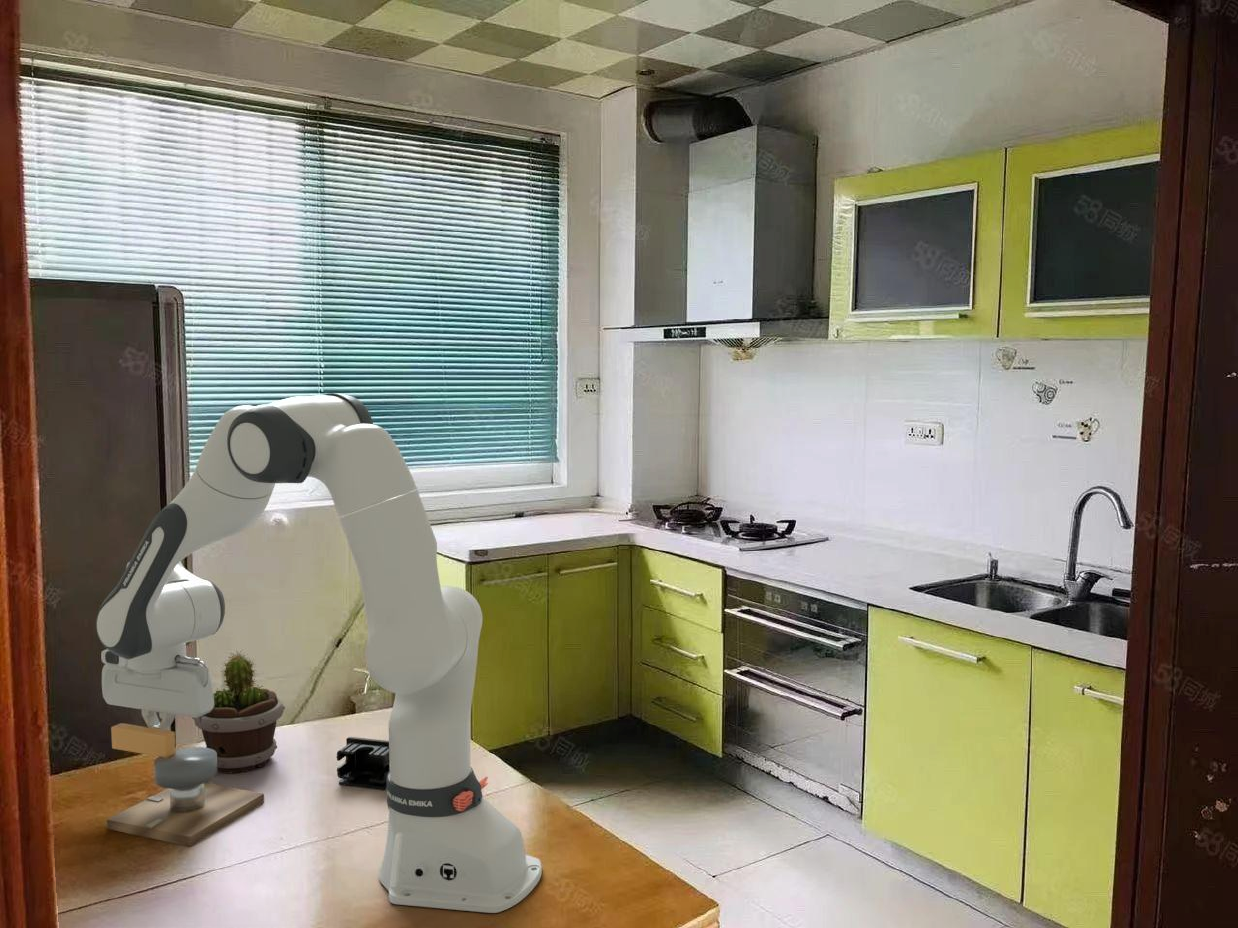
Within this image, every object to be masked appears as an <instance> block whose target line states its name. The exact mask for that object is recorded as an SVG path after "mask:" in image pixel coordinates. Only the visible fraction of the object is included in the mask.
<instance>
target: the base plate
mask: <svg viewBox="0 0 1238 928" xmlns="http://www.w3.org/2000/svg"><path fill="white" fill-rule="evenodd" d="M204 791H205V805H204V806H203V807H202V808H201V809H199V810H196V811H193V812H188V813H175V812H172V811H171V810H170V790H169V788H165V789H164V790H162V791H160V792H158V793H155V794H154V795H152V796H149V797H147V798H146V799H144V800H143V801H140V802H139V803H137V804H135V805H133V806H131V807H129V808H126V809H125V810H123V811H121V812H119V813H117V814H115V815H113V816H111V817H109V818H107V819H106V830H110V831H115V832H121V833H125V834H128V835H133V836H134V835H135V836H137V837H144V838H147V839H152V840H153V839H154V840H158V841H163V842H167V843H172V844H176V845H182V846H187V847H192V846H194V845H196V844H197V843H198V842H201V841H202V840H203V839H206V838H207V837H209V836H210V835H212V834H213V833H215V832H217V831H219V830H220V829H222V828H224V827H226V826H227V825H229V824H231V823H232V822H234V821H235V820H237V819H239V818H241V817H243V816H244V815H246V814H247V813H249V812H251V811H253V810H254V809H256V808H257V807H260V806H261V805H262V803H263V804H264V803H265V793H263V792H257V791H254V790H253V791H251V790H246V789H240V788H234V787H230V786H223V785H220V784H214V783H208V782H206V783H204Z"/></svg>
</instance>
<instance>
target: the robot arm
mask: <svg viewBox="0 0 1238 928" xmlns="http://www.w3.org/2000/svg"><path fill="white" fill-rule="evenodd" d="M307 478H315V479H317V480H319V481H320V482H321V483H323V484H324V485H325V487H326V489H327V490H328V491H329V492H328V493H329V494H330V496H331V498H332V503H333V505H334V507H335V510H336V513H337V516H338V519H339V522H340V524H341V527H342V530H343V532H344V533H343V534H344V535H345V538H346V541H347V544H348V547H349V550H350V551H351V554H352V558H353V560H354V563H355V565H356V568H357V572H358V576H359V581H360V587H361V593H362V597H363V598H362V599H363V605H364V613H365V620H366V627H367V628H366V629H367V641H366V647H365V654H364V655H365V656H364V657H365V665H366V668H367V671H368V674H369V676H370V677H371V678H372V679H373V681H374V682H375V683H376V684H377V685H378V686H379V687H380V688H382V689H383V690H385V691H387V692H390V693H393V694H395V696H394V702H393V704H392V705H393V706H392V709H391V712H390V715H389V719H388V741H389V766H390V772H389V773H388V775H387V787H386V790H385V791H386V803H387V808H388V823H387V835H386V843H385V847H384V848H385V849H384V854H383V859H382V862H381V866H380V869H379V873H378V878H379V881H380V883H381V884H382V885H383V886H384V888H385V889H386V890H387V891H388V900H389V903H391V904H394V905H398V906H399V905H402V906H403V905H404V906H411V907H412V906H413V907H422V908H433V909H434V908H435V909H446V910H456V911H468V912H477V913H488V914H489V913H491V914H497V913H501V912H502V911H505V910H508V909H510V908H512V907H513V906H515V905H517V904H518V903H520V902H521V901H523V899H525V898H526V897H527V896H528V895H529V894H530V893H531V892H532V891H533V890H534V888H535V887H536V886H537V885H538V883H539V881H540V880H541V877H542V874H543V868H542V862H541V860H540V859H539V858H538V857H534V856H531V855H529V854H527V853H526V848H525V842H524V837H523V835H522V832H521V829H520V828H519V827H518V826H517V825H516V824H515V823H514V822H513V821H511V820H510V819H509V818H508V817H507V816H506V815H504V814H503V813H502V812H500V811H499V809H497V808H496V807H495V806H494V805H492V803H490V802H489V801H488V800H487V799H486V798H485V797H484V794H483V792H482V790H483V789H484V788H485V787H486V786H487V785H488V783H489V782H487V781H488V779H489V777H488V776H485V777H484V778H482V779H481V780H480V781H479V780H478V779H477V775H476V774H475V771H474V769H473V768H472V766H471V714H472V702H473V697H474V695H473V694H474V688H475V683H476V681H475V680H476V673H477V665H478V657H479V655H478V654H479V641H480V636H481V630H482V627H483V621H484V620H483V618H484V617H483V612H482V609H481V606H480V604H479V602H478V600H477V598H476V597H475V596H473V595H472V593H470V592H469V591H467V590H466V589H463V588H462V587H458V586H450V585H449V586H448V585H447V586H441V583H440V575H439V569H438V561H437V552H438V542H437V539H436V536H435V533H434V530H433V527H432V525H431V522H430V520H429V517H428V515H427V514H428V513H427V511H426V509H425V506H424V503H423V502H422V499H421V496H420V493H419V490H417V489H418V488H417V485H416V482H415V481H414V478H413V476H412V473H411V471H410V469H409V467H408V465H407V463H406V461H405V459H404V456H403V454H402V453H401V451H400V450H399V447H398V445H397V444H396V442H395V441H394V439H393V438H392V436H391V435H390V433H389V432H388V431H387V430H386V429H385V428H383V427H382V426H380V425H376V424H374V422H373V419H372V416H371V413H370V411H369V409H368V408H367V407H366V406H365V404H364V403H363V402H362V401H360V399H357V398H356V397H354V396H352V395H348V394H345V393H344V394H343V393H335V392H334V393H332V392H330V393H325V394H321V395H310V396H293V397H288V398H284V399H280V400H277V401H274V402H270V403H268V404H266V403H265V404H258V405H255V406H253V405H238V406H235V407H232V408H230V409H228V410H227V411H226V412H225V413H223V414H222V416H221V417H220V419H219V420H218V422H217V423H216V425H215V426H214V428H213V429H212V432H211V433H210V435H209V436H208V438H207V441H206V443H205V445H204V447H203V448H202V451H201V453H200V456H199V458H198V461H197V463H196V467H195V469H194V471H193V473H192V475H191V477H190V478H189V480H188V481H187V482H186V484H185V486H184V487H182V489H181V491H180V492H179V493H178V494H177V495H176V496H175V497H174V499H172V500H171V502H170V503H169V504H167V505H165V506H164V508H162V509H161V510H160V511H159V512H157V514H156V515H155V517H154V518H153V519H152V521H151V523H150V524H149V526H148V527H147V529H146V531H145V533H144V535H143V537H142V538H141V540H140V542H139V544H138V546H137V548H136V550H135V552H134V554H133V555H132V557H131V559H130V561H128V562H127V564H126V567H125V570H124V572H123V574H122V576H121V577H120V579H119V581H118V583H117V584H116V586H115V587H114V589H113V590H111V592H110V593H109V594H108V595H107V596H106V597H105V599H104V600H103V601H102V603H101V605H100V607H99V609H98V611H97V614H96V618H95V632H96V635H97V639H98V641H99V642H100V644H101V645H102V646H103V647H104V648H105V649H104V650H102V651H101V654H100V656H101V659H100V660H101V662H102V663H103V664H104V665H103V666H102V671H101V690H102V692H101V693H102V698H103V700H104V701H105V703H106V704H108V705H111V706H118V707H124V708H131V709H137V710H141V717H142V718H143V720H144V722H145V724H146V725H147V726H146V727H149V728H155V729H161V730H167V731H172V729H171V728H172V727H171V725H172V723H173V721H174V720H175V718H176V716H180V717H181V716H182V717H188V718H192V717H194V718H198V717H201V716H203V715H205V714H207V713H209V712H211V710H212V709H213V707H214V695H213V694H214V691H213V684H212V678H211V675H210V669H209V666H208V665H206V663H205V662H204V661H203V660H202V659H201V658H199V657H189V656H187V646H186V645H187V643H190V642H195V641H197V640H203V639H205V638H208V637H210V636H212V635H214V634H216V633H217V632H218V631H219V629H220V628H221V627H222V624H223V622H224V619H225V615H226V601H225V596H224V595H223V592H222V590H220V588H219V587H218V586H217V585H216V584H215V583H214V582H212V581H211V580H209V579H207V578H202V577H199V576H197V575H195V574H194V573H192V572H190V571H189V570H187V569H186V567H185V566H184V565H183V563H182V561H183V559H185V558H187V557H189V555H191V554H192V553H195V552H196V551H198V550H200V549H203V548H204V547H206V546H209V545H211V544H213V543H216V542H219V541H221V540H223V539H227V538H230V537H233V536H235V535H237V534H240V533H242V532H244V531H246V530H248V529H249V528H251V527H252V526H253V525H254V524H255V523H256V522H257V520H259V518H260V517H261V516H262V514H263V513H264V511H265V509H266V508H267V506H268V505H269V502H270V499H271V497H272V493H273V491H274V488H275V486H276V484H302V483H304V482H305V480H306V479H307ZM400 495H401V496H400ZM339 517H340V518H339ZM157 713H158V715H159V717H158V715H157ZM159 718H160V719H161V721H160V719H159Z"/></svg>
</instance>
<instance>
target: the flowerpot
mask: <svg viewBox="0 0 1238 928" xmlns="http://www.w3.org/2000/svg"><path fill="white" fill-rule="evenodd" d="M243 650H244V649H243ZM243 650H242V651H243ZM247 655H248V654H245V653H242V654H241V652H238V651H237V653H236V654H235V653H233V652H230V654H229V656H228V661H227V662H223V667H224V669H223V668H221V669H222V671H221V670H220V672H221V673H222V674H221V676H222V680H221V683H223V685H222V684H221V685H218V687H219V688H220V690H219V689H218V688H216V690H215V692H213V695H214V707H213V709H212V710H211V712H209V713H207V714H205V715H203V716H201V717H198V718H194V717H191V718H192V719H193V721H194V725H195V727H197V728H198V729H200V730H201V733H202V736H203V740H204V743H205V746H206V747H205V748H210V749H213V750H215V751H216V753H217V771H218V772H219V773H223V774H236V773H237V774H238V773H239V772H243V773H245V772H249V771H251V770H252V769H254V768H255V767H259V768H261V767H263V766H265V765H266V764H268V763H269V761H270V760H271V758H272V757H273V756H274V754H275V751H276V750H277V748H278V746H277V741H276V739H275V738H274V736H275V733H276V727H277V722H278V720H280V718H281V717H282V716H283V714H284V710H285V709H286V706H284V704H283V701H282V699H280V698H279V697H278V696H277V693H276V692H275V691H273V690H270V689H267V688H263V685H261V686H260V685H259V684H257V683H255V682H256V678H257V677H256V676H257V675H259V674H258V673H256V666H255V663H254V660H252V659H250V658H249V657H247V658H246V656H247ZM253 667H254V668H253ZM222 686H224V687H227V688H222ZM218 772H217V773H218Z"/></svg>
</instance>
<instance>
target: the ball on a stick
mask: <svg viewBox="0 0 1238 928" xmlns="http://www.w3.org/2000/svg"><path fill="white" fill-rule="evenodd" d="M110 729H111V730H110V733H111V749H113V750H118V751H123V752H124V751H126V752H131V753H136V754H137V753H138V754H142V755H148V756H155V757H156V758H155V760H154V761H153V768H154V769H153V771H154V783H155V785H156V786H158V787H160V788H164V789H168V788H171V789H177V788H187V787H193V786H197V785H200V784H203V783H208V782H210V781H211V780H213V779H215V777H217V776H218V771H217V753H216V751H215V750H213V749H210V748H206V747H204V746H203V747H201V746H200V747H199V746H197V747H196V746H194V747H193V746H192V747H184V748H183V747H182V748H179V749H178V748H177V749H176V733H175V731H172V730H171V731H167V730H161V729H155V728H149V727H148V726H140V725H135V724H130V723H123V722H121V723H118V724H116V725H114V726H113V725H112V726H111V728H110Z"/></svg>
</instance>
